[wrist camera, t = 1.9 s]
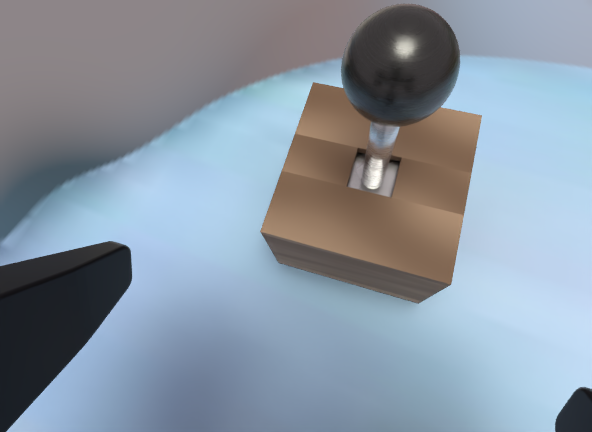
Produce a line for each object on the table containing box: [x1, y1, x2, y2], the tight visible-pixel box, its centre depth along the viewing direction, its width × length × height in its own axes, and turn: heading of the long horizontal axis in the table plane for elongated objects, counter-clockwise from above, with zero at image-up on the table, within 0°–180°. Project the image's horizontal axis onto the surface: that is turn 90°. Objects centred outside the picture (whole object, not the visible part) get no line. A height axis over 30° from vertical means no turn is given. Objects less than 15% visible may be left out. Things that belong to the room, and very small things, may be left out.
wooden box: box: [260, 82, 482, 303], centre depth 20 cm, size 8×8×6 cm
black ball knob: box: [341, 4, 460, 197], centre depth 14 cm, size 6×6×9 cm
